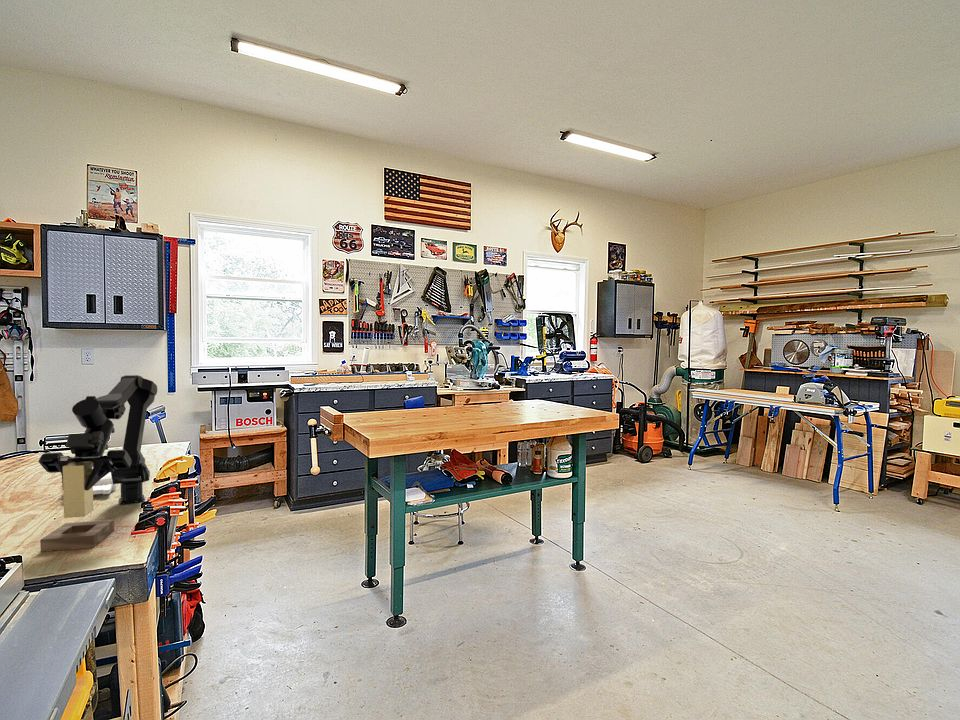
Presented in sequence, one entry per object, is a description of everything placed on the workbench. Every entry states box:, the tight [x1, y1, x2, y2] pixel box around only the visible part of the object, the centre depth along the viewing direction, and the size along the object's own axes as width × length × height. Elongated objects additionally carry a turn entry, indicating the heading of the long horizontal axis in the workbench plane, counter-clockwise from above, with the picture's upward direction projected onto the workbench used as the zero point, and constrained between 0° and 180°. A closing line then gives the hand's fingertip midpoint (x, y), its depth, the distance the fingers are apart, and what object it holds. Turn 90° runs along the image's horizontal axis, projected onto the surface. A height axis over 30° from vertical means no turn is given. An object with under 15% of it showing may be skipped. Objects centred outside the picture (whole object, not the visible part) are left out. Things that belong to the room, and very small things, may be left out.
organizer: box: [92, 467, 119, 496], centre depth 170 cm, size 13×5×35 cm
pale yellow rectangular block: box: [62, 461, 94, 519], centre depth 124 cm, size 4×4×13 cm
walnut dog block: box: [39, 519, 115, 552], centre depth 125 cm, size 11×11×3 cm
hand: (75, 490), depth 123 cm, fingers closed on pale yellow rectangular block, 4 cm apart
